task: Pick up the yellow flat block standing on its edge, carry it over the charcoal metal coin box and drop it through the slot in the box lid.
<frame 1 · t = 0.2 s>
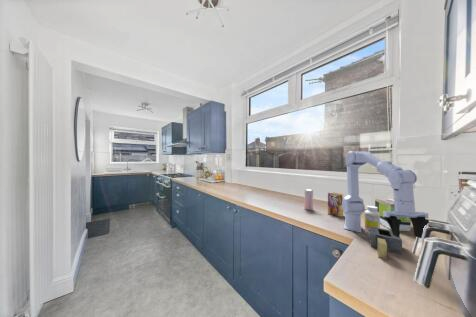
hand: (407, 236, 64), 10 cm above the worktop, tool pointing down, fingers open, 7 cm apart
beverage can: (308, 209, 128), on the worktop
supplement bottle: (371, 229, 93), on the worktop
candy box: (335, 215, 116), on the worktop
yellow flat block: (381, 255, 69), on the worktop
coin box: (384, 245, 76), on the worktop
tea box: (391, 225, 99), on the worktop
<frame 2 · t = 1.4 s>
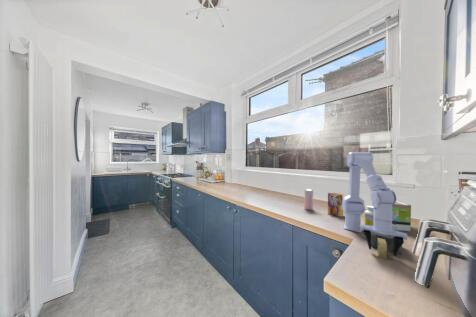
hand: (381, 251, 69), 2 cm above the worktop, tool pointing down, fingers open, 7 cm apart
nothing on the worktop moved.
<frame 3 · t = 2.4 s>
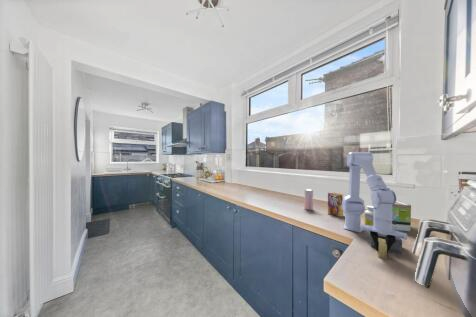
hand: (381, 251, 69), 2 cm above the worktop, tool pointing down, fingers closed on yellow flat block, 2 cm apart
yellow flat block: (381, 255, 69), on the worktop, touching gripper
everything else where it was.
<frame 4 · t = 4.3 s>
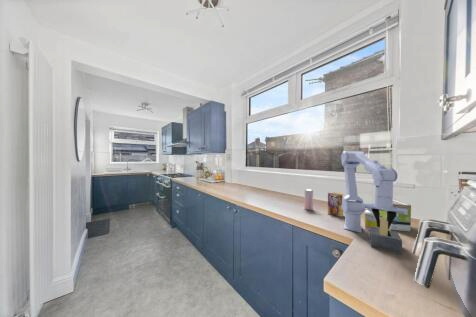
hand: (382, 227, 72), 10 cm above the worktop, tool pointing down, fingers closed on yellow flat block, 2 cm apart
yellow flat block: (382, 232, 72), point 8 cm above the worktop, touching gripper
everything else where it was.
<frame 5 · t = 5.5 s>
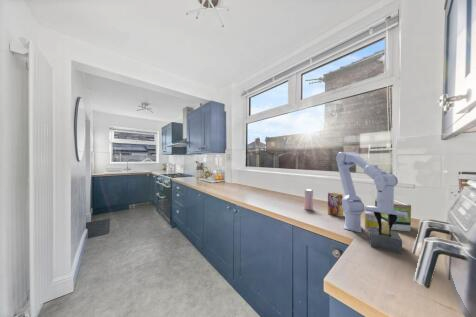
hand: (384, 229, 76), 7 cm above the worktop, tool pointing down, fingers closed on yellow flat block, 2 cm apart
yellow flat block: (384, 235, 76), point 5 cm above the worktop, touching gripper
everything else where it was.
when the fingers open (7 cm above the worktop, at t = 6.3 s): yellow flat block drops 4 cm, resting on coin box.
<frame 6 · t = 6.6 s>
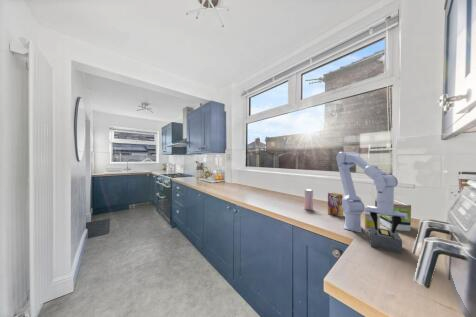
hand: (384, 230, 76), 7 cm above the worktop, tool pointing down, fingers open, 5 cm apart
yellow flat block: (384, 245, 76), resting on coin box
everything else where it was.
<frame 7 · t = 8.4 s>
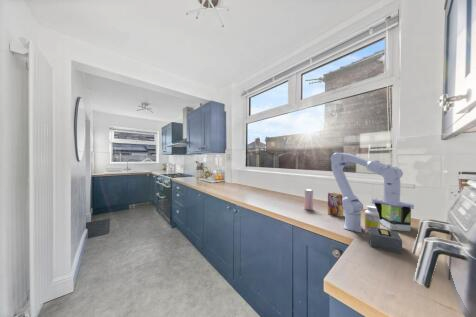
hand: (391, 220, 79), 10 cm above the worktop, tool pointing down, fingers open, 7 cm apart
nothing on the worktop moved.
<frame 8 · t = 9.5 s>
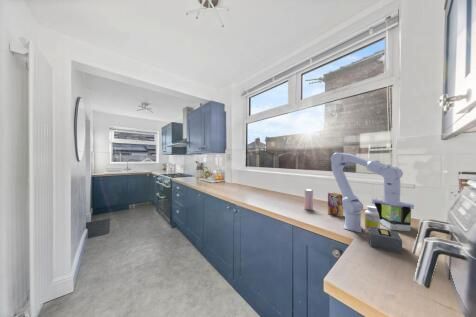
hand: (391, 220, 79), 10 cm above the worktop, tool pointing down, fingers open, 7 cm apart
nothing on the worktop moved.
at the end: yellow flat block inside the target area on the coin box (0.0 cm from its centre), point 0.2 cm above the coin box's base; the gripper is holding nothing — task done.
